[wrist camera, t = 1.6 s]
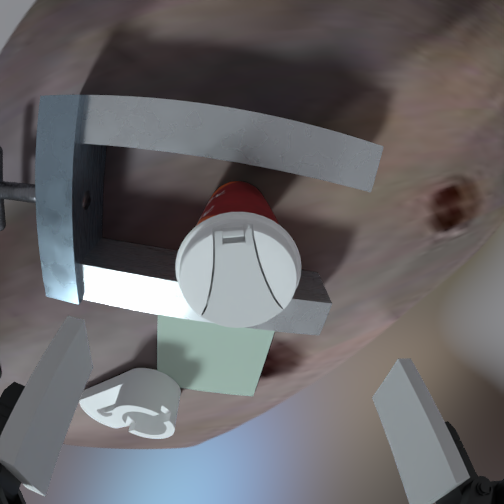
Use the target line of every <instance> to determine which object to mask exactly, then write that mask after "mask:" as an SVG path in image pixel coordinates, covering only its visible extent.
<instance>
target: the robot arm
mask: <svg viewBox="0 0 504 504" xmlns="http://www.w3.org/2000/svg"><path fill="white" fill-rule="evenodd" d="M92 369H93V363H92V359H91V354H90V348H89V343H88V337H87V332H86V325H85V320H83V319H79V318H75V317H71V316H68V317H67V318H66V320H65V321H64V323H63V324H62V326H61V327H60V329H59V330H58V332H57V334H56V335H55V337H54V338H53V340H52V342H51V343H50V345H49V346H48V348H47V350H46V351H45V353H44V355H43V356H42V358H41V360H40V361H39V363H38V365H37V366H36V368H35V370H34V372H33V373H32V375H31V377H30V379H29V381H28V382H27V384H26V386H23V385H21V384H18V383H16V382H13V383H12V384H11V385H10V386H8V387H7V388H6V389H5V390H4V391H3V393H2V395H1V397H0V504H26V502H25V500H24V498H23V495H22V493H21V491H20V489H19V487H20V484H21V483H22V484H23V485H24V486H25V487H26V488H28V489H30V490H32V491H34V492H36V493H38V494H40V495H43V496H46V494H47V491H48V487H49V484H50V481H51V477H52V474H53V471H54V468H55V465H56V462H57V459H58V456H59V453H60V450H61V447H62V444H63V442H64V439H65V436H66V433H67V431H68V428H69V425H70V423H71V420H72V417H73V415H74V412H75V410H76V407H77V405H78V402H79V400H80V397H81V395H82V392H83V390H84V388H85V385H86V383H87V380H88V378H89V376H90V374H91V371H92ZM0 378H1V370H0ZM372 398H373V401H374V403H375V406H376V409H377V412H378V414H379V417H380V419H381V422H382V425H383V428H384V430H385V433H386V436H387V439H388V441H389V444H390V447H391V450H392V453H393V455H394V458H395V461H396V464H397V467H398V470H399V473H400V476H401V479H402V482H403V485H404V488H405V491H406V495H407V498H408V501H409V504H432V503H434V502H436V504H504V479H503V480H502V481H492V482H490V481H489V479H487V478H486V477H484V476H479V477H478V475H477V474H476V472H475V470H474V468H473V466H472V463H471V461H470V459H469V457H468V455H467V452H466V450H465V448H463V444H462V442H461V441H460V438H459V436H458V434H457V432H456V430H455V428H454V427H453V426H452V425H451V424H450V423H449V422H444V420H443V418H442V416H441V414H440V412H439V410H438V408H437V406H436V404H435V402H434V400H433V399H432V397H431V395H430V393H429V391H428V389H427V387H426V385H425V383H424V382H423V380H422V378H421V376H420V374H419V372H418V371H417V369H416V367H415V365H414V363H413V362H412V360H411V359H398V360H397V361H396V363H395V364H394V366H393V367H392V369H391V371H390V372H389V374H388V375H387V377H386V378H385V380H384V381H383V383H382V384H381V386H380V387H379V388H378V390H377V391H376V393H375V394H374V396H373V397H372Z"/></svg>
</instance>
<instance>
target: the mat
mask: <svg viewBox="0 0 504 504" xmlns="http://www.w3.org/2000/svg"><path fill="white" fill-rule="evenodd" d="M274 332H275V331H269V330H261V329H252V328H232V327H225V326H221V325H218V324H215V323H208V322H201V321H195V320H189V319H182V318H176V317H171V316H165V315H159V314H158V331H157V371H160V372H162V373H164V374H166V375H168V376H169V377H171V378H172V379H173V380H174V381H176V383H177V384H178V385H179V387H180V388H185V389H192V390H199V391H207V392H215V393H223V394H232V395H243V396H253V395H254V392H255V389H256V386H257V383H258V380H259V377H260V374H261V371H262V368H263V365H264V362H265V359H266V356H267V353H268V350H269V347H270V344H271V341H272V338H273V335H274Z"/></svg>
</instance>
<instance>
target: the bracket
mask: <svg viewBox="0 0 504 504" xmlns="http://www.w3.org/2000/svg"><path fill="white" fill-rule="evenodd" d="M180 395H181V390H180V387H179V385H178V384H177V383H176V381H174V380H173V379H172V378H171V377H169V376H168V375H166V374H164V373H162V372H160V371H157V370H153V369H148V368H135V369H132V370H130V371H127V372H125V373H123V374H121V375H118V376H116V377H114V378H111V379H109V380H107V381H104V382H102V383H100V384H97V385H95V386H92V387H90V388H88V389H85V390H84V391H83V394H82V396H81V399H80V401H79V402H80V405H81V407H82V409H83V410H84V411H85V412H86V413H87V414H88V415H89V416H90V417H92V418H93V419H95V420H96V421H98V422H100V423H102V424H104V425H106V426H109V427H113V428H121V427H125V426H129V425H130V427H129V430H128V431H129V432H131V433H133V434H135V435H138V436H142V437H146V438H152V439H163V438H167V437H170V436H171V435H173V433H174V431H175V425H176V419H177V413H178V407H179V401H180Z"/></svg>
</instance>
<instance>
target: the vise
mask: <svg viewBox="0 0 504 504" xmlns="http://www.w3.org/2000/svg"><path fill="white" fill-rule="evenodd" d="M107 145H109V146H120V147H130V148H140V149H149V150H157V151H165V152H173V153H180V154H187V155H194V156H201V157H208V158H214V159H220V160H226V161H232V162H237V163H243V164H248V165H254V166H259V167H264V168H269V169H274V170H279V171H284V172H289V173H293V174H298V175H303V176H307V177H311V178H316V179H320V180H324V181H328V182H333V183H337V184H341V185H345V186H349V187H352V188H356V189H360V190H364V191H368V192H371V190H372V187H373V183H374V180H375V176H376V173H377V169H378V166H379V162H380V158H381V155H382V151H383V146H381V145H378V144H375V143H372V142H369V141H365V140H362V139H359V138H356V137H353V136H349V135H346V134H343V133H339V132H336V131H332V130H329V129H325V128H321V127H318V126H314V125H310V124H306V123H302V122H298V121H294V120H290V119H285V118H281V117H276V116H272V115H267V114H262V113H257V112H252V111H247V110H241V109H236V108H230V107H224V106H217V105H211V104H204V103H196V102H188V101H180V100H171V99H160V98H148V97H134V96H113V95H50V96H41V97H40V105H39V114H38V125H37V139H36V162H35V184H25V183H15V182H5V181H3V150H2V148H1V147H0V231H2V230H4V228H5V226H6V220H5V209H4V199H8V200H16V201H23V202H31V203H36V216H37V230H38V241H39V251H40V259H41V267H42V274H43V280H44V286H45V292H46V296H47V297H51V298H55V299H59V300H63V301H67V302H71V303H75V304H80V302H81V301H82V299H86V300H90V301H94V302H99V303H104V304H108V305H113V306H118V307H123V308H128V309H133V310H138V311H143V312H148V313H154V314H159V315H165V316H171V317H176V318H182V319H189V320H195V321H201V322H208V323H213V322H211V321H209V320H207V319H205V318H203V317H202V315H201V316H199V315H198V314H197V313H196V312H195V311H194V310H193V309H192V308H191V307H190V305H189V304H188V303H187V301H186V299H185V297H184V296H183V293H182V291H181V289H180V287H179V284H178V281H177V278H176V270H175V266H176V258H177V253H178V250H172V249H166V248H160V247H154V246H147V245H141V244H135V243H129V242H123V241H117V240H112V239H106V238H102V212H103V186H104V170H105V157H106V146H107ZM331 305H332V302H331V300H330V298H329V295H328V293H327V291H326V289H325V287H324V284H323V282H322V280H321V278H320V276H319V274H318V272H311V271H305V270H301V276H300V280H299V284H298V286H297V288H296V290H295V293H294V295H293V297H292V299H291V301H290V302H289V304H288V305H287V307H286V308H285V309H283V311H281V312H280V313H279V314H277V315H276V316H275V317H273V318H271V319H270V320H268V321H266V322H264V323H262V324H259V325H255V326H251V327H244V328H252V329H261V330H269V331H278V332H288V333H298V334H309V335H320V332H321V330H322V328H323V325H324V323H325V320H326V318H327V315H328V313H329V310H330V308H331Z"/></svg>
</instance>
